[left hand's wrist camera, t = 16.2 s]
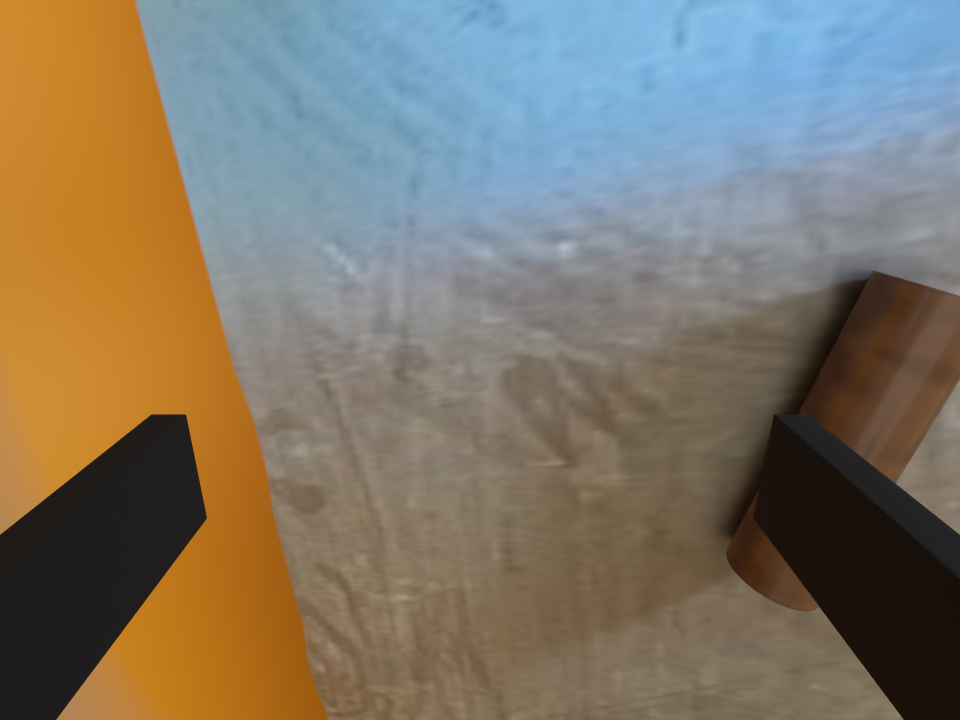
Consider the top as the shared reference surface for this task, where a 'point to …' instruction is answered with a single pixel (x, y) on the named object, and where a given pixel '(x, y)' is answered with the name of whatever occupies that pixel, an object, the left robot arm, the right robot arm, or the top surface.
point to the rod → (869, 403)
